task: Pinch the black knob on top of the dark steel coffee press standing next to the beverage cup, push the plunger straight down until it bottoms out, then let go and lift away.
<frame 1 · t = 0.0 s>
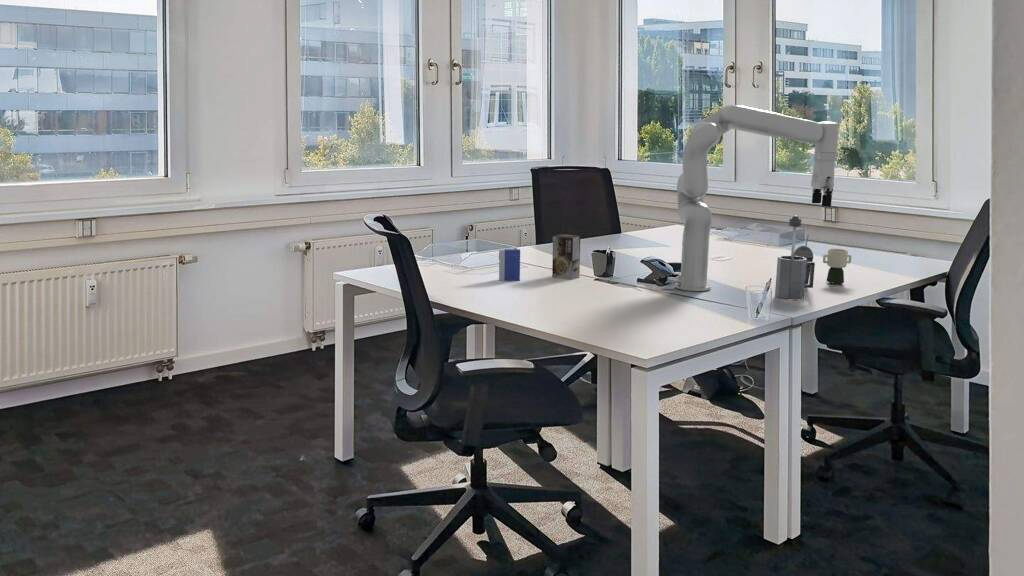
hand: (821, 204, 331), 31 cm above the table, tool pointing down, fingers open, 9 cm apart
walkman: (509, 280, 346), on the table
character mug: (834, 284, 348), on the table
coffee box: (565, 277, 353), on the table
carafe: (789, 297, 323), on the table
plunger: (793, 244, 319), point 19 cm above the table, slide at 8.0 cm
beverage cup: (800, 288, 340), on the table
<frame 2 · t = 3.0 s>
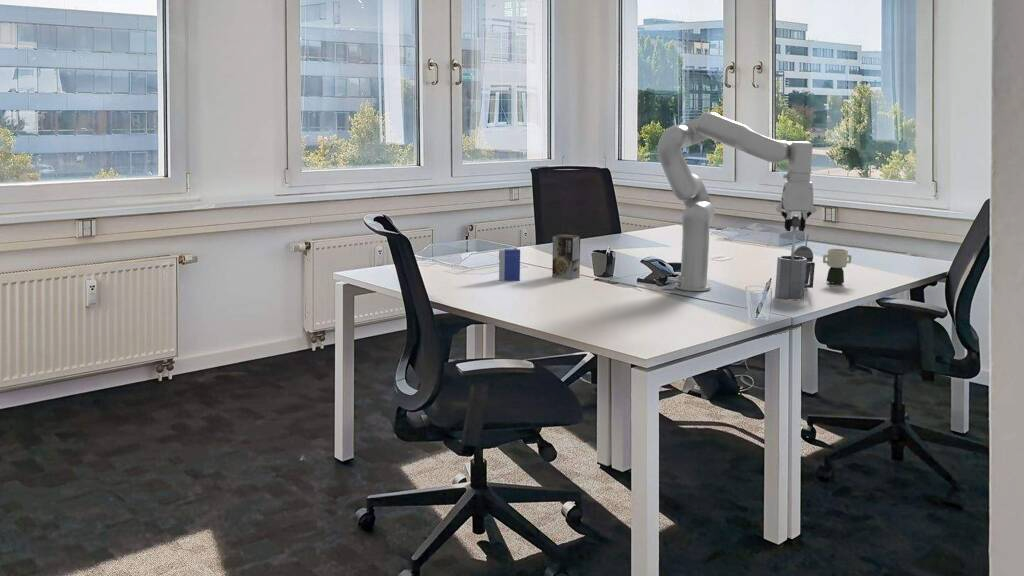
hand: (794, 230, 318), 24 cm above the table, tool pointing down, fingers closed on plunger, 4 cm apart
plunger: (793, 244, 319), point 19 cm above the table, slide at 8.0 cm, touching gripper
everything else where it was.
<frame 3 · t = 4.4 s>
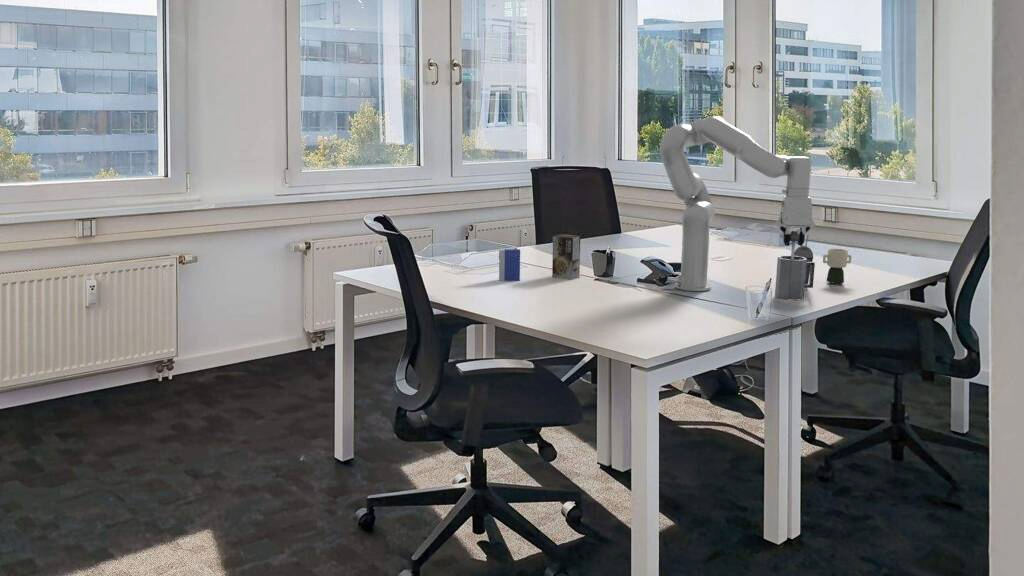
hand: (793, 244, 319), 19 cm above the table, tool pointing down, fingers closed on plunger, 4 cm apart
plunger: (792, 258, 320), point 14 cm above the table, slide at 2.9 cm, touching gripper
everything else where it was.
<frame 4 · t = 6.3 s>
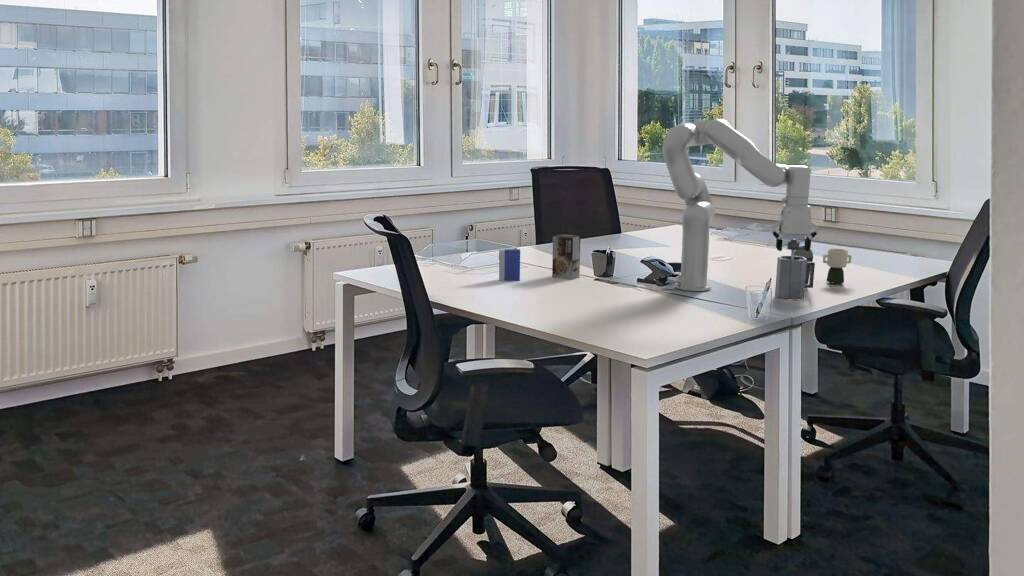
hand: (792, 250, 320), 17 cm above the table, tool pointing down, fingers open, 9 cm apart
plunger: (791, 267, 321), point 11 cm above the table, slide at -0.1 cm
everything else where it was.
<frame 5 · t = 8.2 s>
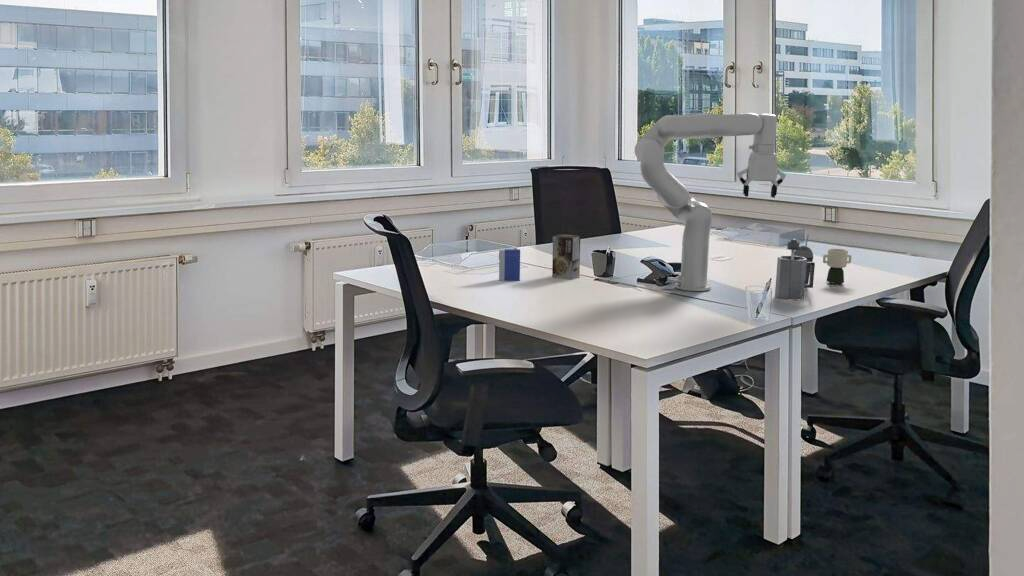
hand: (759, 196, 331), 34 cm above the table, tool pointing down, fingers open, 9 cm apart
nothing on the table moved.
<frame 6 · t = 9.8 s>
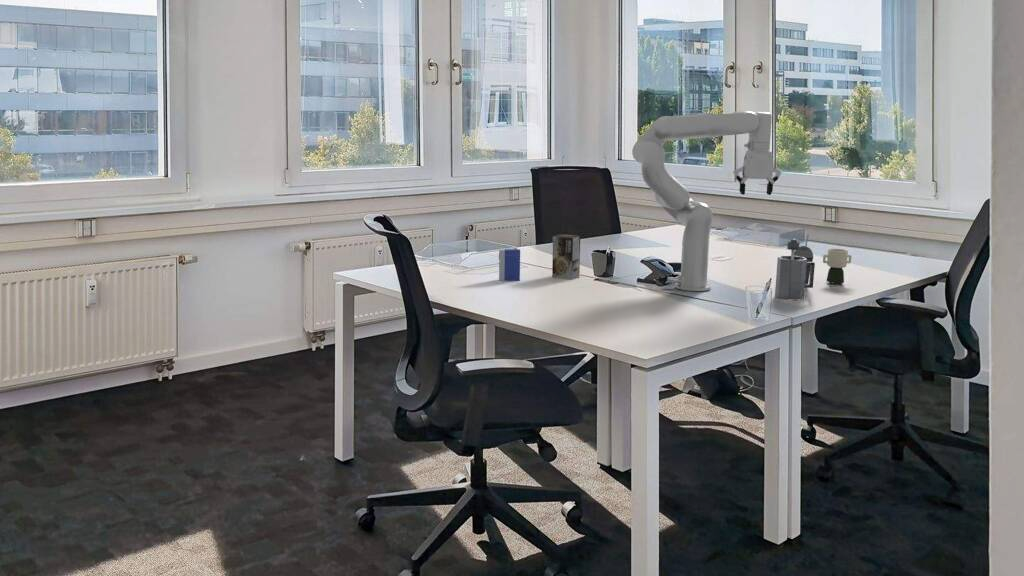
hand: (755, 194, 333), 34 cm above the table, tool pointing down, fingers open, 9 cm apart
nothing on the table moved.
at the end: plunger slide at -0.1 cm; the gripper is holding nothing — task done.
